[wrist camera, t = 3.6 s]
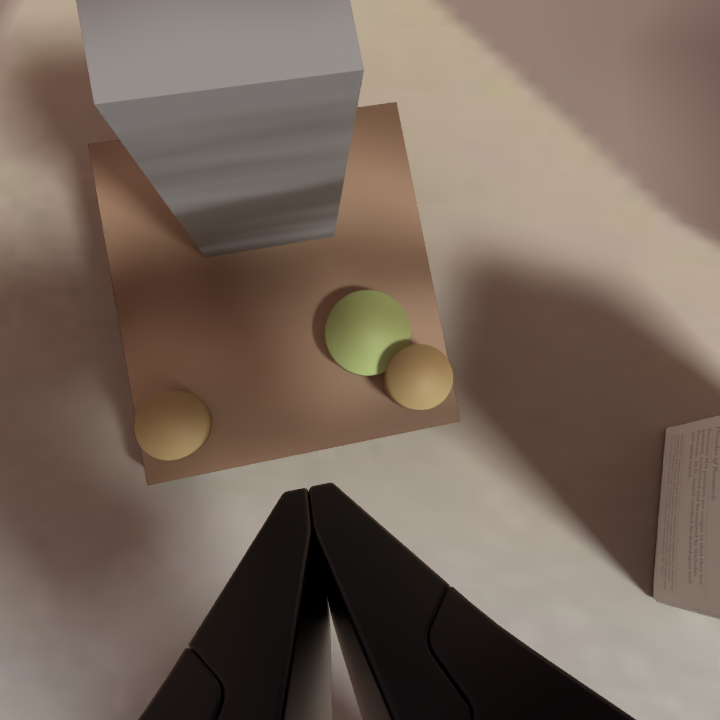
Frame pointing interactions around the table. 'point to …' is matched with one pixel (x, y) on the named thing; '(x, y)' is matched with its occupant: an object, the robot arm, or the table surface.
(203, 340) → the wooden base with pillar
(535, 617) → the table surface
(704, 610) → the supplement box
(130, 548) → the table surface
